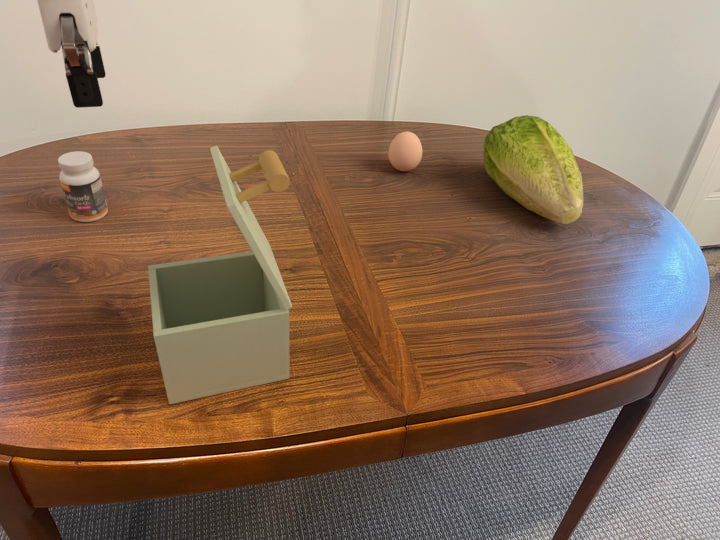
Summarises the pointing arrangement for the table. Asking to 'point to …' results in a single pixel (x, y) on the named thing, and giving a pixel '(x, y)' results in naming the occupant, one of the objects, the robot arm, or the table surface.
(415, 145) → the egg
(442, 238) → the table surface
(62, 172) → the pill bottle
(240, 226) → the lid
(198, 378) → the chest
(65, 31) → the robot arm
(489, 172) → the lettuce
